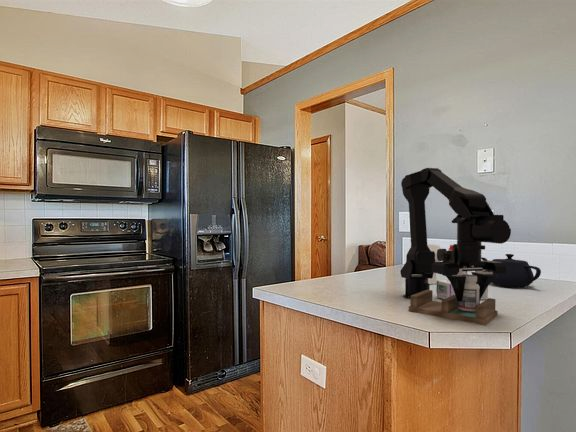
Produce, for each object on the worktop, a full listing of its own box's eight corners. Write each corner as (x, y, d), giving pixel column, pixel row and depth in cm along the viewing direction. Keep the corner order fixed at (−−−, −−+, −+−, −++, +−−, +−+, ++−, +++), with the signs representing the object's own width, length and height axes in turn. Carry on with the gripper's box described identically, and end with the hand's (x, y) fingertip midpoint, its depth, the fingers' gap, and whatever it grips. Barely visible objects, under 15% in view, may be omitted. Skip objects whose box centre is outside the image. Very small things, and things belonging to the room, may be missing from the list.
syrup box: (488, 281, 113) (447, 281, 110) (488, 300, 113) (447, 301, 110) (475, 278, 119) (436, 279, 116) (475, 296, 118) (436, 297, 115)
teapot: (554, 290, 131) (554, 256, 131) (525, 292, 125) (525, 257, 125) (493, 279, 154) (493, 250, 154) (466, 281, 148) (466, 251, 148)
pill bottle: (465, 305, 97) (465, 273, 97) (483, 310, 93) (484, 276, 93) (452, 308, 94) (453, 274, 94) (471, 313, 90) (472, 277, 90)
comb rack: (408, 310, 98) (408, 295, 98) (425, 303, 107) (425, 289, 107) (486, 325, 85) (486, 307, 85) (497, 315, 94) (497, 299, 94)
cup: (444, 285, 137) (444, 246, 137) (415, 284, 139) (415, 245, 139) (437, 280, 148) (437, 244, 148) (410, 279, 150) (410, 243, 150)
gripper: (476, 239, 104) (475, 293, 104) (419, 239, 99) (418, 295, 99) (508, 241, 93) (507, 301, 93) (446, 241, 88) (445, 305, 88)
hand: (468, 300), depth 93 cm, fingers closed on pill bottle, 5 cm apart
